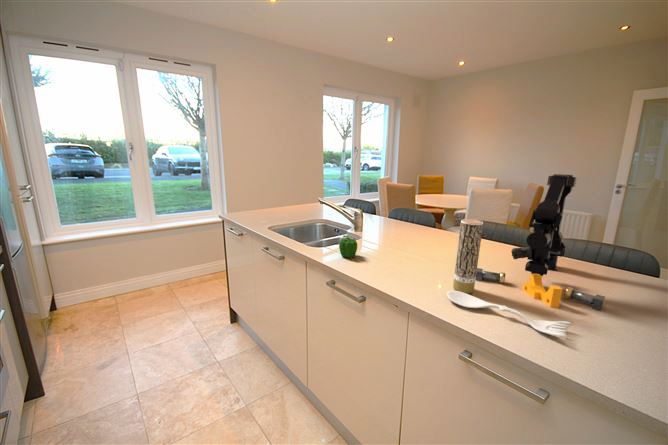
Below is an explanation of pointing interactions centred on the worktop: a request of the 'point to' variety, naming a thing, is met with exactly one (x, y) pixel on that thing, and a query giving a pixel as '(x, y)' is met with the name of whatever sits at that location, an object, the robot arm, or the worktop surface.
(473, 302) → the white plastic spork
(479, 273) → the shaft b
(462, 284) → the paper tube
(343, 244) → the bell pepper
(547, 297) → the pipe clamp
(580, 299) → the shaft
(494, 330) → the worktop surface
